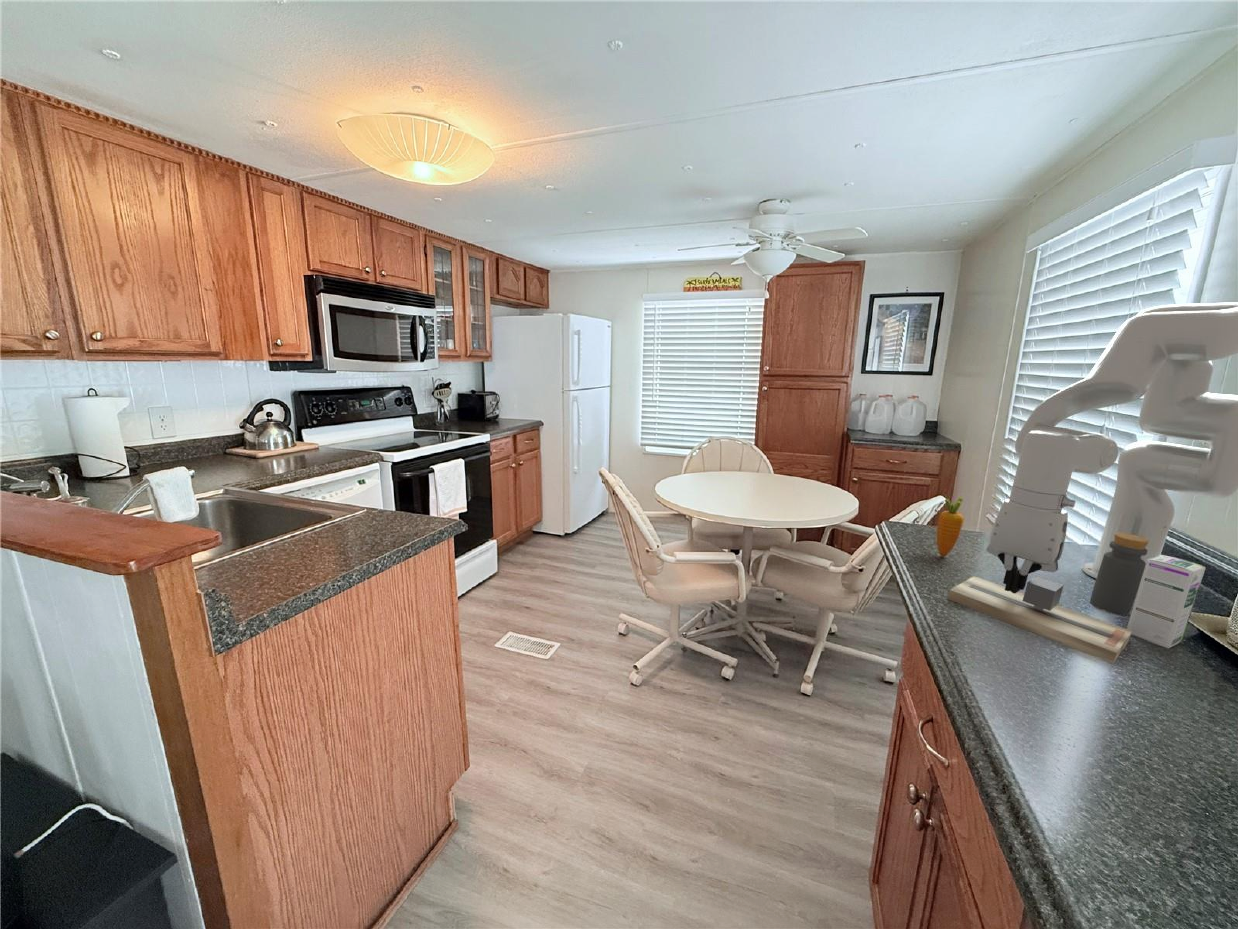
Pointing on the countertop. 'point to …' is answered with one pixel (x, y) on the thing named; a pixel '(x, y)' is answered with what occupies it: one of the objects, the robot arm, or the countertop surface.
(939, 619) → the countertop surface
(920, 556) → the countertop surface
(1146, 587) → the syrup box
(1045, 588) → the fader knob
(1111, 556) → the bottle
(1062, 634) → the fader board
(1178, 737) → the countertop surface
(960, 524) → the carrot
